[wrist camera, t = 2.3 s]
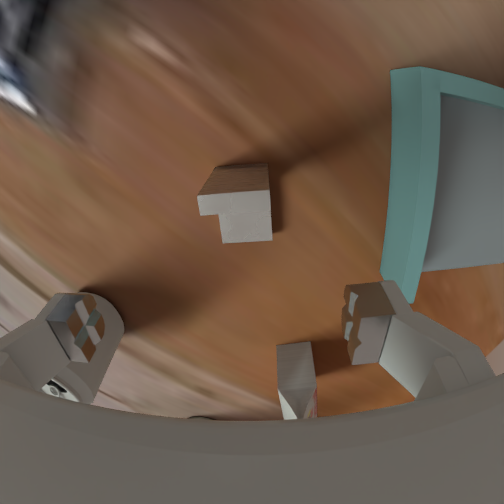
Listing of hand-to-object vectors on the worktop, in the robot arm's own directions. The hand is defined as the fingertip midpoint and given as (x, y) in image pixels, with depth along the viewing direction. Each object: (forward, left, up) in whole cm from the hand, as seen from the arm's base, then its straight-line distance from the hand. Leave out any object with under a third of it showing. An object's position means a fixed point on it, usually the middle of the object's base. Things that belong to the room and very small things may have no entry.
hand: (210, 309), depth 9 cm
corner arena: (+1, +21, -16) cm, 26 cm away
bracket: (+2, 0, -16) cm, 16 cm away
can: (+14, -18, -16) cm, 28 cm away
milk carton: (+22, +4, -16) cm, 27 cm away
